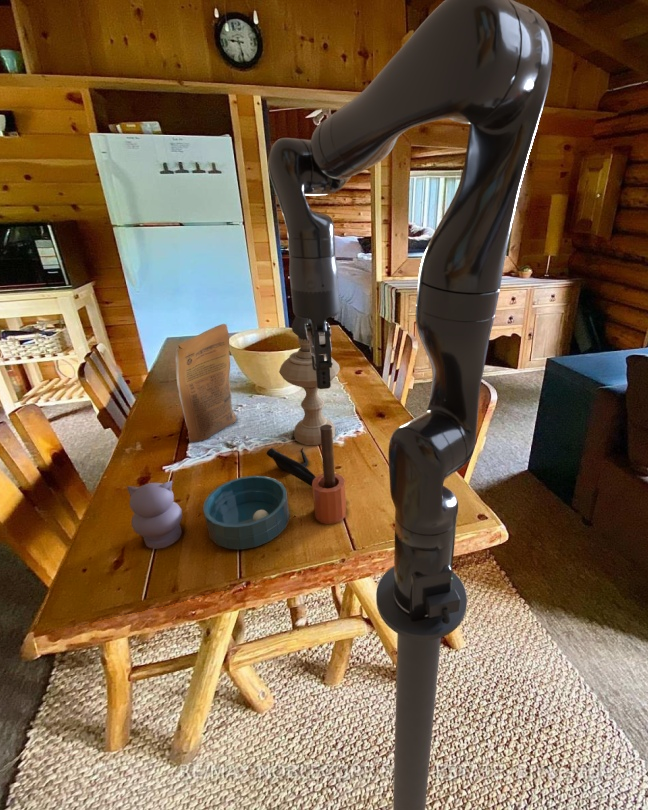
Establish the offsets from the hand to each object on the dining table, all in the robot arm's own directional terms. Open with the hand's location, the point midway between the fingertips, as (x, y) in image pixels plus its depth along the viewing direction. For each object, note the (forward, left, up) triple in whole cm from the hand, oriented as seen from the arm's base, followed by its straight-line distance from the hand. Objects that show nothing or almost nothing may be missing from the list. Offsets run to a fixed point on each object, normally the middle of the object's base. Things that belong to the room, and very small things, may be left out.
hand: (321, 378), depth 77 cm
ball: (0, +14, -28) cm, 31 cm away
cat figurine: (+1, +32, -31) cm, 44 cm away
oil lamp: (+33, 0, -31) cm, 45 cm away
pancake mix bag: (+42, +26, -31) cm, 58 cm away
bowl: (+1, +16, -30) cm, 34 cm away
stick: (0, 0, -30) cm, 30 cm away
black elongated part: (+14, +2, -31) cm, 34 cm away
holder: (0, 0, -30) cm, 30 cm away
